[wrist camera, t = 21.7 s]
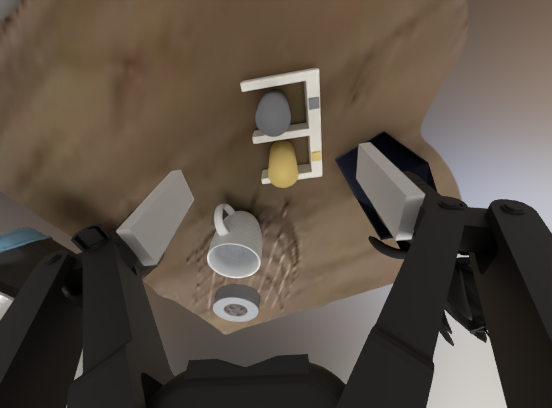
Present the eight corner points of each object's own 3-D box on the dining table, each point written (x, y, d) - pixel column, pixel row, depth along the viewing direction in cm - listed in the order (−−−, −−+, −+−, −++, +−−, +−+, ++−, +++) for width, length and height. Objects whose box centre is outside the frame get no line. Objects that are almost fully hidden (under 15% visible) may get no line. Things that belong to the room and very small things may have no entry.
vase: (322, 151, 42) (414, 349, 14) (378, 117, 39) (665, 294, 10) (351, 199, 49) (452, 398, 21) (401, 174, 45) (611, 376, 17)
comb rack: (263, 174, 46) (262, 185, 42) (243, 80, 35) (239, 83, 31) (319, 167, 44) (322, 177, 41) (315, 67, 34) (319, 69, 30)
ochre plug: (272, 164, 44) (270, 189, 36) (267, 141, 41) (265, 162, 33) (295, 161, 44) (299, 185, 36) (293, 137, 41) (296, 158, 33)
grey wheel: (207, 292, 73) (202, 307, 69) (240, 278, 68) (238, 292, 63) (235, 311, 80) (233, 325, 76) (268, 299, 75) (267, 314, 71)
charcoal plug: (263, 121, 39) (259, 139, 31) (257, 92, 36) (251, 102, 28) (289, 117, 39) (292, 133, 30) (286, 86, 36) (288, 96, 28)
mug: (203, 198, 49) (183, 238, 39) (245, 184, 47) (236, 222, 36) (233, 240, 57) (223, 282, 47) (270, 230, 55) (269, 272, 44)
